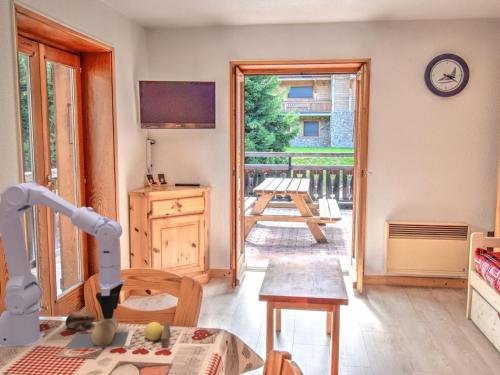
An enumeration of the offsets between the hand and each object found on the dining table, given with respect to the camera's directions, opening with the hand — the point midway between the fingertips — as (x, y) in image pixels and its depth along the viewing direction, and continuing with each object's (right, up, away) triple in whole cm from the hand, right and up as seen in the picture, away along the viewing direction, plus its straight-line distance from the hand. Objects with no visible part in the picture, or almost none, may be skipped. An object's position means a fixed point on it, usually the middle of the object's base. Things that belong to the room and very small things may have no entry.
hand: (110, 313), depth 125 cm
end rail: (+15, -8, +3) cm, 17 cm away
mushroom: (-12, -8, +9) cm, 17 cm away
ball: (+13, -7, +2) cm, 15 cm away
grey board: (-2, -8, 0) cm, 8 cm away
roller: (-1, -8, 0) cm, 8 cm away
